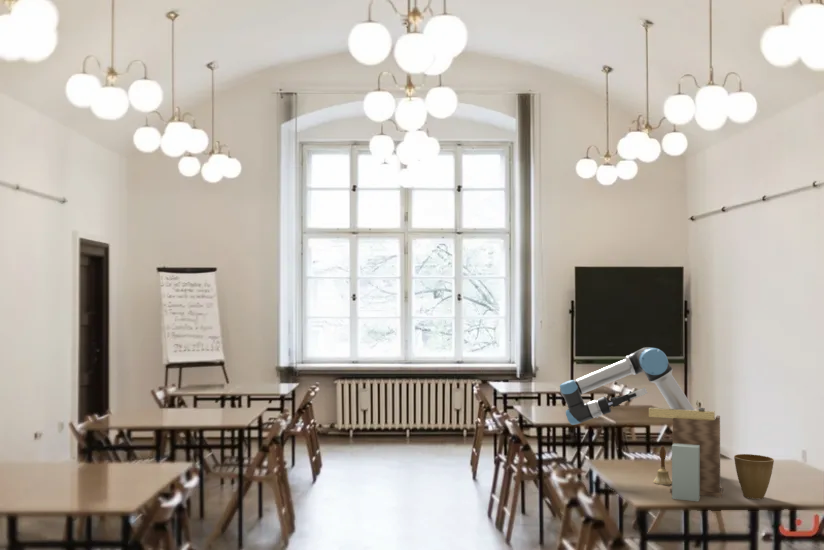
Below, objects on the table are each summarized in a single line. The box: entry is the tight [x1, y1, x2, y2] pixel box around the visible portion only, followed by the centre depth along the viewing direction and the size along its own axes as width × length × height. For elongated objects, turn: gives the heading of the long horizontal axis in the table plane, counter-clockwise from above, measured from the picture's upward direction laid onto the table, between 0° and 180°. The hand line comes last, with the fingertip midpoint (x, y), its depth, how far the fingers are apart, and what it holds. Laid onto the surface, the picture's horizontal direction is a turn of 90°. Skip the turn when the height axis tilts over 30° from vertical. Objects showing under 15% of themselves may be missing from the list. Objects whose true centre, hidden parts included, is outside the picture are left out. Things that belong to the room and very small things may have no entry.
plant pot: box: [733, 453, 775, 500], centre depth 322 cm, size 15×15×16 cm
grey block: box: [671, 443, 701, 502], centre depth 319 cm, size 10×7×21 cm
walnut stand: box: [669, 415, 724, 498], centre depth 331 cm, size 20×12×32 cm, turn 66°
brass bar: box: [648, 407, 716, 421], centre depth 334 cm, size 26×4×5 cm, turn 66°
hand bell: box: [652, 445, 672, 486], centre depth 347 cm, size 8×8×16 cm
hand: (645, 390), depth 353 cm, fingers open, 13 cm apart
